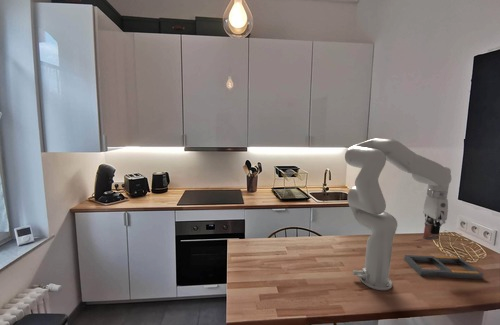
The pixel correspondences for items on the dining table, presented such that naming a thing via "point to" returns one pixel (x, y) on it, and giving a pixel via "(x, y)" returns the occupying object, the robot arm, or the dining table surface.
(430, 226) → the reddish brown container
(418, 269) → the grey divided frame
